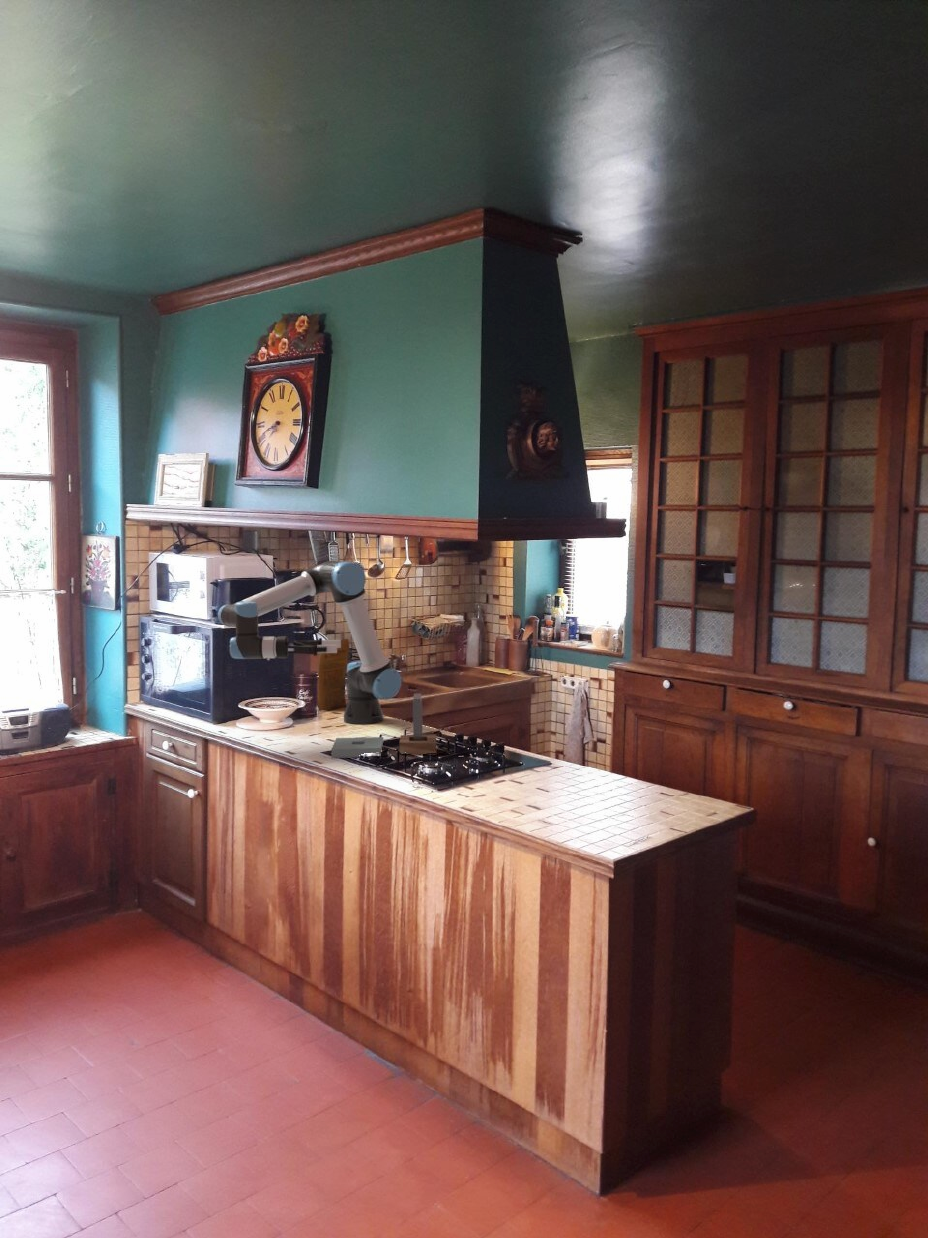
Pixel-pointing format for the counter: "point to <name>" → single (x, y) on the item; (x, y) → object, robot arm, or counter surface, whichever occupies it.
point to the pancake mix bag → (333, 677)
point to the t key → (417, 718)
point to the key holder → (418, 744)
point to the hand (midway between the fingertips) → (338, 646)
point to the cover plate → (356, 746)
